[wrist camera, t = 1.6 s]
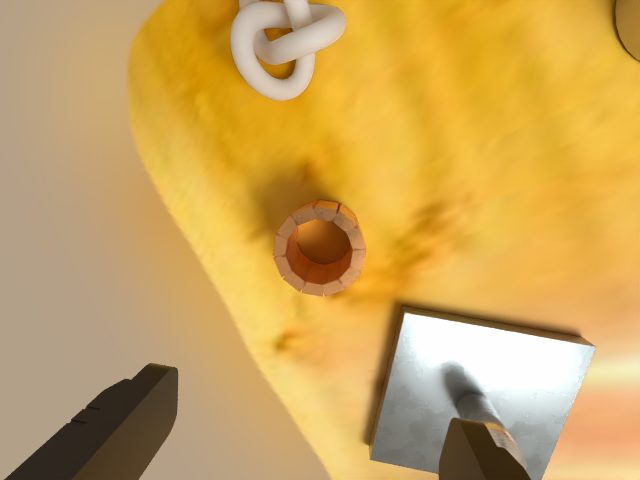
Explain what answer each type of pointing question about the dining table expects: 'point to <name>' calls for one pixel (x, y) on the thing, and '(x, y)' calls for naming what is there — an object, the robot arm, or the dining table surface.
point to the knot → (282, 42)
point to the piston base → (475, 388)
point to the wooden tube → (314, 274)
